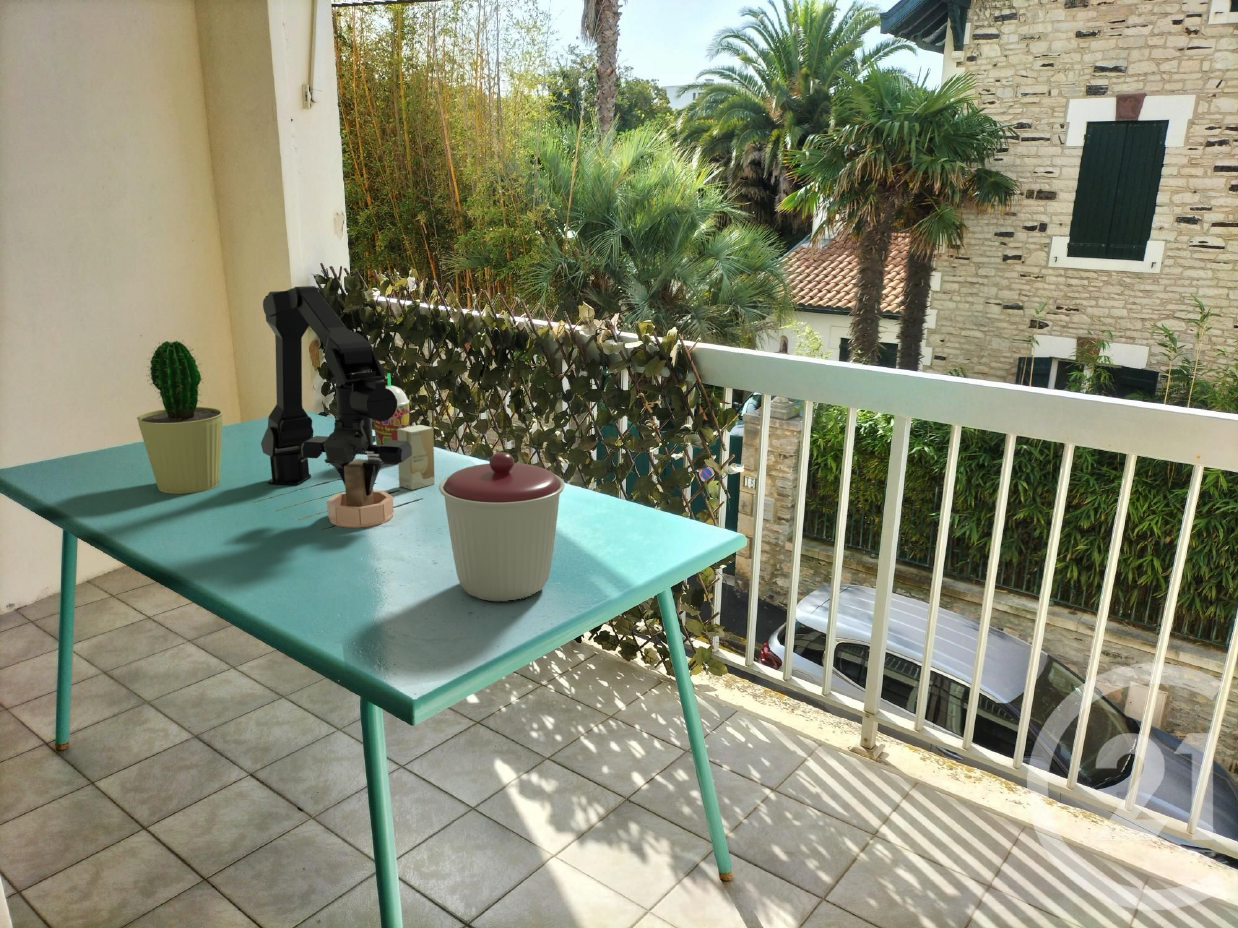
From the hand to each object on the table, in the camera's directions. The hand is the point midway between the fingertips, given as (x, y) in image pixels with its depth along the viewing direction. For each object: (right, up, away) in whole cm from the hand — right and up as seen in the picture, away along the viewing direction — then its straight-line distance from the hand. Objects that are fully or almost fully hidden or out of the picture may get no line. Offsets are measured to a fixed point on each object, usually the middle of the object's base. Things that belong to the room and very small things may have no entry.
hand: (359, 494), depth 157 cm
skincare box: (+6, +1, +21) cm, 22 cm away
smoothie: (-4, +6, +39) cm, 39 cm away
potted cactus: (-40, +1, +18) cm, 44 cm away
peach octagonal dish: (0, -4, +1) cm, 4 cm away
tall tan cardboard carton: (0, -3, +1) cm, 3 cm away
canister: (+30, -13, -28) cm, 43 cm away
